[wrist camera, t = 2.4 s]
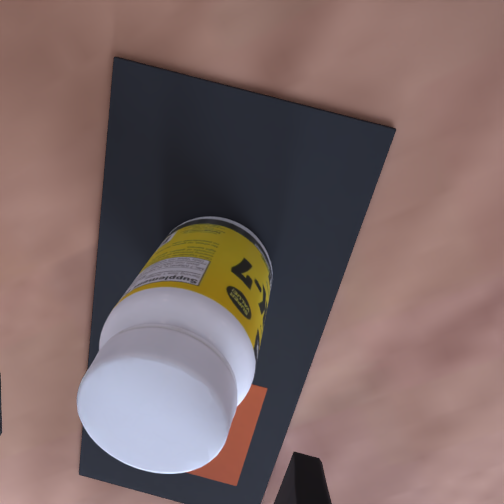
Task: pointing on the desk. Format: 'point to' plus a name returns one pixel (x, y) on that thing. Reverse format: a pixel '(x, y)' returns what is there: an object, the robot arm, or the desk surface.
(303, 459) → the robot arm
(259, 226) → the place mat
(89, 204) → the desk surface
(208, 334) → the supplement bottle
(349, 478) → the desk surface
